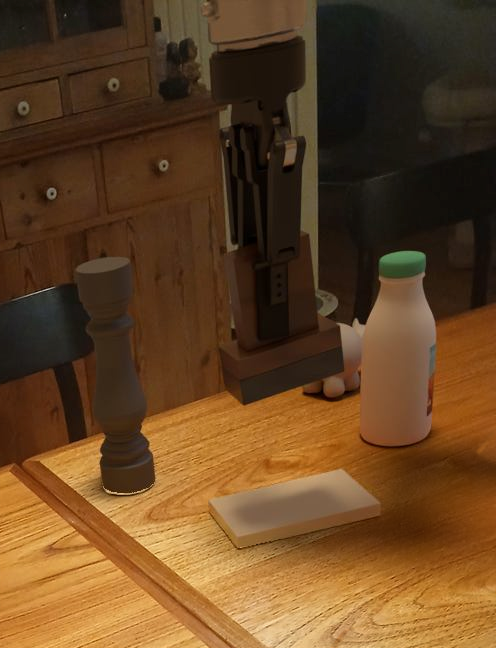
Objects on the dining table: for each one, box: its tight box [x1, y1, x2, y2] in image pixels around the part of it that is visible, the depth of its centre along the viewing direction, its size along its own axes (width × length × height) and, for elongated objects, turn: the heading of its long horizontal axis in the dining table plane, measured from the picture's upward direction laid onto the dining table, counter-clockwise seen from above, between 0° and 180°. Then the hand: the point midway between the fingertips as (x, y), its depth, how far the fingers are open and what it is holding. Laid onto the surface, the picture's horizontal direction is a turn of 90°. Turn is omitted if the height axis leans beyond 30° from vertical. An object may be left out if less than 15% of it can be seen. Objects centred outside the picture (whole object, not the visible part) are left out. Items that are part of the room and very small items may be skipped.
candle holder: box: [74, 256, 156, 493], centre depth 108 cm, size 6×6×25 cm
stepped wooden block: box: [217, 230, 344, 407], centre depth 91 cm, size 10×5×13 cm, turn 100°
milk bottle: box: [359, 250, 437, 447], centre depth 108 cm, size 8×8×20 cm
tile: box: [207, 468, 382, 549], centre depth 102 cm, size 15×9×2 cm, turn 99°
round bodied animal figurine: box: [301, 317, 366, 398], centre depth 126 cm, size 7×12×8 cm, turn 121°
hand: (266, 331), depth 91 cm, fingers closed on stepped wooden block, 3 cm apart
